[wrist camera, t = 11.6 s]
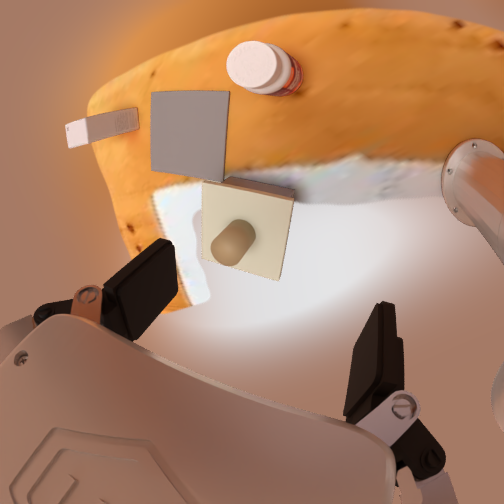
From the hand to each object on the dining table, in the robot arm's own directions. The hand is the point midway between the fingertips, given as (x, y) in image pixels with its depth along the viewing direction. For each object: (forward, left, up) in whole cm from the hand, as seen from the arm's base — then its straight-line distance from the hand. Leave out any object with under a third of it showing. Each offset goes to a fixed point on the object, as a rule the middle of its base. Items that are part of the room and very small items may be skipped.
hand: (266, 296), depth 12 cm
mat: (+22, -1, -28) cm, 36 cm away
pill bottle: (+8, -11, -28) cm, 32 cm away
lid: (+9, +10, -22) cm, 26 cm away
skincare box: (+35, -3, -28) cm, 45 cm away
